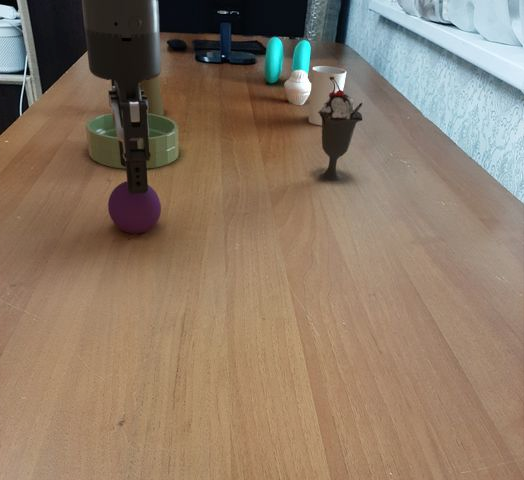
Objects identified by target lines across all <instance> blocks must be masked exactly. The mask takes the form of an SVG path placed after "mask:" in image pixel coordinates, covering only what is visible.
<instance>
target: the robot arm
mask: <svg viewBox="0 0 524 480" xmlns="http://www.w3.org/2000/svg"><path fill="white" fill-rule="evenodd" d="M81 5H82V15H83V26H84V32H85V33H84V34H85V43H86V50H87V52H86V53H87V61H88V68H89V71H90V73H91V74H92V75H93V76H94V77H96V78H98V79H101V80H106V81H110V84H111V89H108V90H107V97H108V104H109V108H110V113H111V114H112V121H113V123H115V124H116V126H115V131H116V132H117V138H118V140H119V151H120V162H121V165H122V166H124V167H126V169H125V171H126V181H127V186H128V191H129V193H131V194H142V193H146V192H147V191H148V185H149V183H148V169H147V164H146V161H150V157H151V154H150V152H149V139H148V138H149V125H148V117H147V113H148V108H149V106H148V99H147V96H145V93H144V90H141V89H140V82H142V81H143V80H151V79H154V78H156V77H158V78H159V76H160V74H161V72H162V56H161V55H162V54H161V32H160V31H161V29H160V10H159V7H160V6H159V0H81ZM137 140H138V141H140V142H141V149H138V142H137Z"/></svg>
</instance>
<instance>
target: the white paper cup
mask: <svg viewBox="0 0 524 480" xmlns="http://www.w3.org/2000/svg"><path fill="white" fill-rule="evenodd" d="M346 75H347V70H345V69H343V68H340V67H336V66H328V65H318V66H313V67H312V69H311V81H310V83H311V92H310V95H309V107H308V109H309V110H308V122H309V123H310V124H312V125H316V126H321V127H322V118H321V116H320V114H319V113H318V112H319V111H320V110H322V107H323V106H324V103H326V102H327V101H328V100H329V99H330V98H329V94H330V93H332V92H333V90H334V83H335V91H334V92H335V93H336V92H337V91H339V89H340V90H342V91H343V92H344V86H345V81H346ZM330 77H334V80H335V81H336V82H337V84H338V86H339V89H338V87H337V85H336V82H335V81H334V80H333V79H332V80H333V82H334V83H333V82H332V81H331V80H330Z"/></svg>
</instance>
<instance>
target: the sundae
mask: <svg viewBox="0 0 524 480" xmlns="http://www.w3.org/2000/svg"><path fill="white" fill-rule="evenodd" d="M332 79H333V80H334V77H330V80H331V81H332V82H333V80H332ZM334 81H335V80H334ZM335 82H336V81H335ZM333 83H334V82H333ZM336 85H337V87H338V89H339V86H338V84H337V82H336ZM334 91H335V83H334V90H333V92H332V93H330V94H329V98H330V99H329V100H328V101H327V102H326V103H324V106H323V107H322V110H320V111H319V112H318V113H319V114H320V116H321V118H322V126H321V146H322V150H323V152H324V154H326V155H327V156H328V158H329V160H328V166H327V169H326V170H325V171H324V172H321V173H319V174H318V176H319V178H321V179H322V180H324V181H328V182H339V181H342V180H343V177H342V176H341V174H339V173H338V172H337V163H338V159H339V158H340V157H343V156H344V155H345V154H346V153H347V152H348V150H349V147H350V145H351V142H352V138H353V135H354V131H355V128H356V126H357V123H358V122H362V121H363V115H362V113H361V112H359V110H360V109H361V108H362V106H363V102H360V103H359V104H358V105H357V107H355V106H354V100H353V99H352V97H350V95H348V94H346V93H345V92H344V90H343V91H342V90H340V89H339V91H337V92H336V93H335V92H334ZM354 107H355V108H354Z"/></svg>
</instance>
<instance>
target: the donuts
mask: <svg viewBox="0 0 524 480" xmlns="http://www.w3.org/2000/svg"><path fill="white" fill-rule="evenodd" d="M266 45H267V46H266V48H265V49H266V50H265V58H264V79H265V80H266V82H267V83H269V84H274V83H277V82H278V80H280V77H281V75H282V71H283V65H284V53H285V52H284V51H285V50H284V44H283V42H282V40H281V39H280V38H279V37H277V36H273V37H271V38H270V39H269V40H268V42H267V44H266ZM311 47H312V46H311V44H310V42H309V41H308V40H306V39H302V40H300V41H299V42H298V43H297V44H296V46H295V48H294V50H293V56H292V62H291V63H292V64H291V73H292V72H293V71H295V70H299V69H300V70H303V71H305V72H306V73H307V77H308V76H309V69H310V61H311V51H312V50H311Z"/></svg>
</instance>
